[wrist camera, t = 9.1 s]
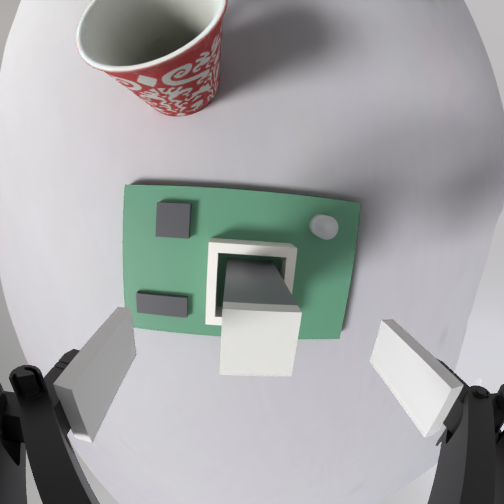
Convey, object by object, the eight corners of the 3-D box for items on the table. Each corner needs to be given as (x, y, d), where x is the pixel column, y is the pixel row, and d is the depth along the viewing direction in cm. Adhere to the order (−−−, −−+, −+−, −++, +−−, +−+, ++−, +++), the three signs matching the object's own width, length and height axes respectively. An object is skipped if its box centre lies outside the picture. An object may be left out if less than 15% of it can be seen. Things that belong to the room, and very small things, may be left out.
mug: (230, 123, 24) (228, 57, 11) (137, 132, 24) (63, 88, 11) (228, 19, 22) (228, -69, 9) (144, 29, 21) (102, -46, 8)
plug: (227, 257, 26) (222, 308, 14) (271, 260, 26) (301, 312, 14) (224, 299, 26) (219, 374, 15) (267, 301, 27) (291, 376, 15)
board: (129, 185, 25) (114, 183, 21) (355, 202, 27) (372, 203, 23) (130, 321, 28) (118, 337, 24) (335, 333, 29) (347, 350, 26)
